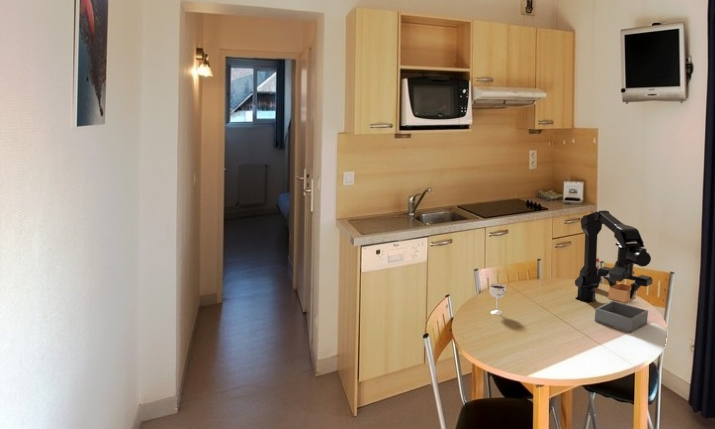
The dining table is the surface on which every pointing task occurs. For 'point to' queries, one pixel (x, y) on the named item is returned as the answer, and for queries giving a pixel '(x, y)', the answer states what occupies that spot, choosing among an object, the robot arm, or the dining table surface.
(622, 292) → the orange crate
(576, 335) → the dining table surface
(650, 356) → the dining table surface
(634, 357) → the dining table surface
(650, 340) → the dining table surface
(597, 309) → the grey open box
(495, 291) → the wineglass
